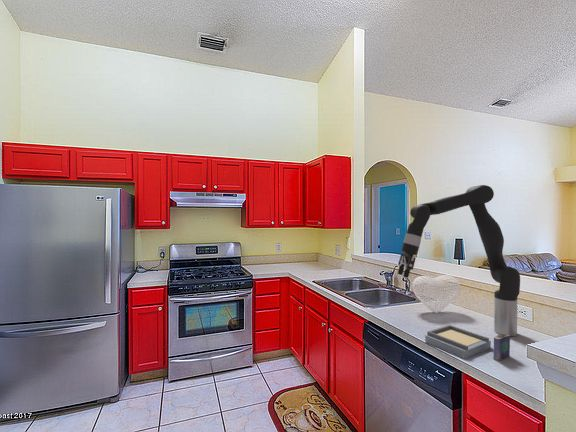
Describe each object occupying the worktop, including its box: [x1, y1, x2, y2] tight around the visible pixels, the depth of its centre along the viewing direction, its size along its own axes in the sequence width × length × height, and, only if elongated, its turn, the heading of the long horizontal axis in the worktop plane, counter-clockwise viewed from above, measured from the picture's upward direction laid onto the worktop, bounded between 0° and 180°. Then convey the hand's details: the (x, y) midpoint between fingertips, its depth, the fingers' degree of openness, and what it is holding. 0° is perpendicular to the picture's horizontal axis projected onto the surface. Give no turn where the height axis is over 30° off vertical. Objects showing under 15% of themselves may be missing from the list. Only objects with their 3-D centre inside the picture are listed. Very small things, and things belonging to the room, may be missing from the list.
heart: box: [411, 274, 461, 314], centre depth 177 cm, size 28×16×22 cm, turn 98°
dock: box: [424, 324, 492, 359], centre depth 134 cm, size 20×18×4 cm
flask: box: [493, 331, 511, 361], centre depth 122 cm, size 9×3×11 cm, turn 117°
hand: (402, 275), depth 146 cm, fingers open, 8 cm apart
